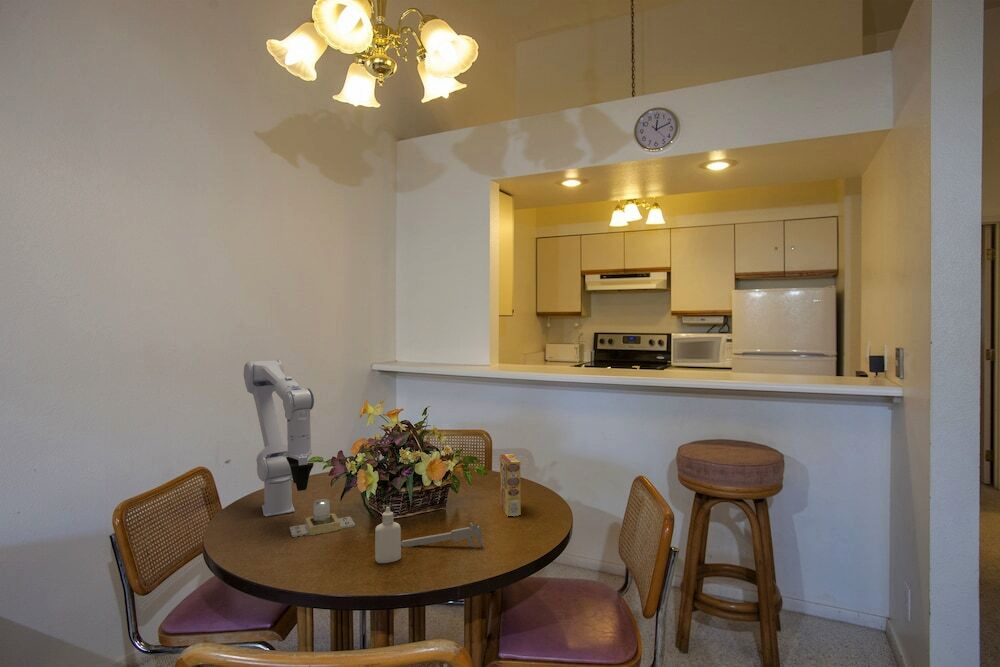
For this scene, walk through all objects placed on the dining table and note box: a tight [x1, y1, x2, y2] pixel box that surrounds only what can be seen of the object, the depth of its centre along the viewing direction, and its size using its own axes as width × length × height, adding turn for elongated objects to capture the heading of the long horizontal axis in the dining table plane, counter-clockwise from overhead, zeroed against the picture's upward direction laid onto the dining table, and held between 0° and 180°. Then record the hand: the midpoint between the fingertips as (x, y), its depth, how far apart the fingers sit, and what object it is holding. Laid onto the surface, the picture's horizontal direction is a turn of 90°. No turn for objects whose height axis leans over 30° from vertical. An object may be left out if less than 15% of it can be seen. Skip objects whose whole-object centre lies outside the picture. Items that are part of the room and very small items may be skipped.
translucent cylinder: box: [312, 498, 331, 526], centre depth 136 cm, size 4×4×7 cm
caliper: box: [401, 521, 483, 548], centre depth 125 cm, size 20×1×6 cm, turn 88°
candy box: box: [499, 453, 522, 518], centre depth 148 cm, size 9×4×15 cm, turn 13°
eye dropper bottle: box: [374, 506, 402, 564], centre depth 118 cm, size 4×6×12 cm
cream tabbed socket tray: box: [289, 512, 356, 538], centre depth 136 cm, size 8×16×2 cm, turn 118°
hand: (299, 486), depth 138 cm, fingers open, 7 cm apart
